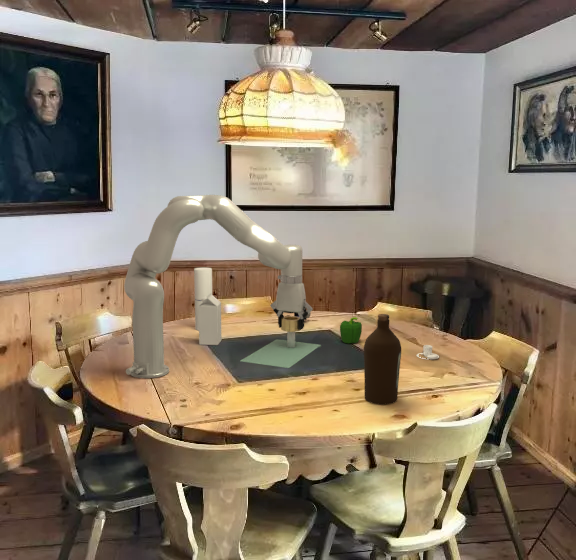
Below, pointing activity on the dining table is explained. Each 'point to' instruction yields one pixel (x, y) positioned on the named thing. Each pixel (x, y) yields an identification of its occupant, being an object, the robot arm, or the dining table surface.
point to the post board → (281, 352)
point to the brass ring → (290, 323)
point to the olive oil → (382, 363)
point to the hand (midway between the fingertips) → (291, 327)
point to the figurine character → (298, 315)
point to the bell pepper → (350, 331)
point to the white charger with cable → (428, 353)
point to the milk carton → (210, 321)
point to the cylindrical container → (201, 288)
